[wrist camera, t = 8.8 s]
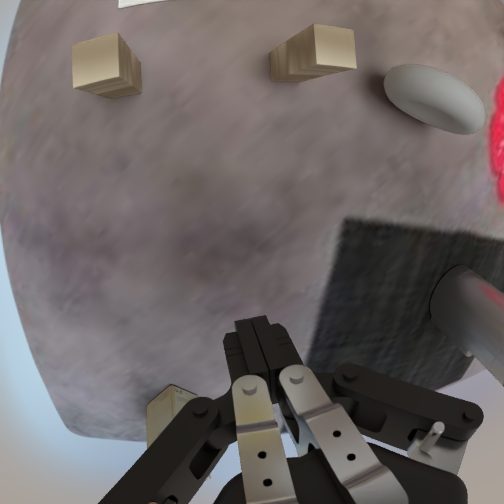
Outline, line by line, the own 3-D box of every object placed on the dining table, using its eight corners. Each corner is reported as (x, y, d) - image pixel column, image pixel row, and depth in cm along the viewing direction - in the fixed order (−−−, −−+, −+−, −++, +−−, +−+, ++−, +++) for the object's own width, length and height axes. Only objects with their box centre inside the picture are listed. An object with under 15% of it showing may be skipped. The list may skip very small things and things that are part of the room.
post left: (142, 92, 20) (119, 76, 12) (111, 98, 20) (73, 88, 12) (140, 63, 19) (118, 32, 11) (109, 69, 18) (72, 44, 10)
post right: (300, 81, 22) (356, 68, 14) (271, 81, 22) (316, 64, 14) (298, 54, 21) (353, 30, 13) (269, 53, 21) (313, 23, 13)
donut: (358, 92, 24) (435, 90, 15) (367, 62, 22) (442, 51, 14) (427, 133, 27) (499, 149, 18) (434, 106, 25) (506, 116, 17)
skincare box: (170, 382, 33) (177, 470, 22) (199, 395, 35) (213, 478, 24) (145, 406, 34) (146, 486, 23) (172, 417, 36) (180, 493, 25)
